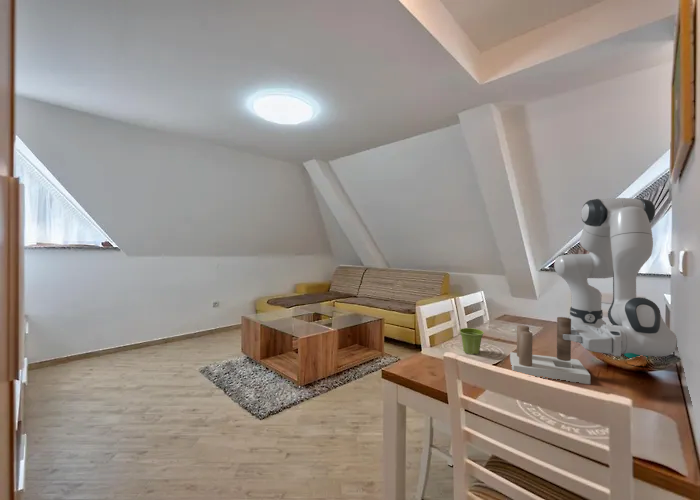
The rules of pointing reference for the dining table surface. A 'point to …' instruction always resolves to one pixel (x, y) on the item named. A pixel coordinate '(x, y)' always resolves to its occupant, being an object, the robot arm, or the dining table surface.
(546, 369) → the grey peg base
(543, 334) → the dining table surface
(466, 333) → the plant pot
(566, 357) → the stool leg
